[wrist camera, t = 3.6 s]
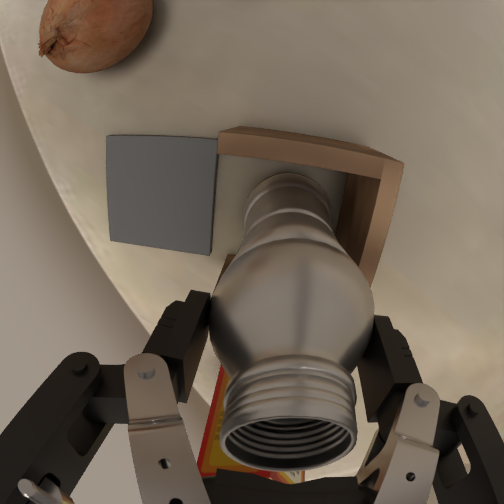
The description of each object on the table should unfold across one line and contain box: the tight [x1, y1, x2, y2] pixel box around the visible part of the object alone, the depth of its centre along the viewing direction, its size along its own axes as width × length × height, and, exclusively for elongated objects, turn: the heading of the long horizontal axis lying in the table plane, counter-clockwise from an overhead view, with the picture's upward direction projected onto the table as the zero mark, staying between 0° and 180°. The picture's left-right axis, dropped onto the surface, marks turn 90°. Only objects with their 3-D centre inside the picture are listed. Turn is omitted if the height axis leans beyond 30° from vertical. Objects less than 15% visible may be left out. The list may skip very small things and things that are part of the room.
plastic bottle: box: [208, 173, 374, 472], centre depth 16 cm, size 6×7×20 cm
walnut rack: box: [213, 126, 404, 293], centre depth 21 cm, size 12×10×8 cm
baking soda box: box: [197, 365, 305, 484], centre depth 26 cm, size 10×6×16 cm
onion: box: [38, 0, 153, 73], centre depth 15 cm, size 10×9×10 cm
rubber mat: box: [106, 135, 218, 256], centre depth 25 cm, size 10×10×1 cm
